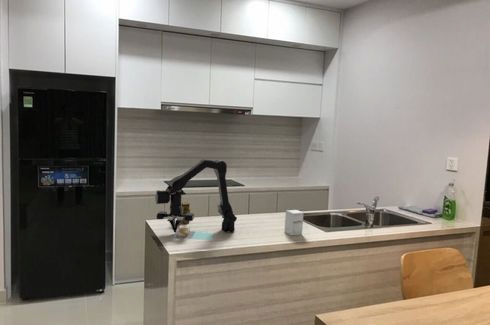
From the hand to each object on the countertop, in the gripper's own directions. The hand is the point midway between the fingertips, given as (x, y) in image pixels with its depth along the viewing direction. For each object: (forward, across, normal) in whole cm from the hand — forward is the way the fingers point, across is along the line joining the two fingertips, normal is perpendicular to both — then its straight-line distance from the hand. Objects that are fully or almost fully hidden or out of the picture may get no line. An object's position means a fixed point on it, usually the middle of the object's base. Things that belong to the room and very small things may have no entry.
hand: (175, 232), depth 204 cm
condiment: (+2, -1, -21) cm, 21 cm away
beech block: (+1, -5, 0) cm, 5 cm away
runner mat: (+2, -10, 0) cm, 10 cm away
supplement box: (+2, -63, -17) cm, 65 cm away
